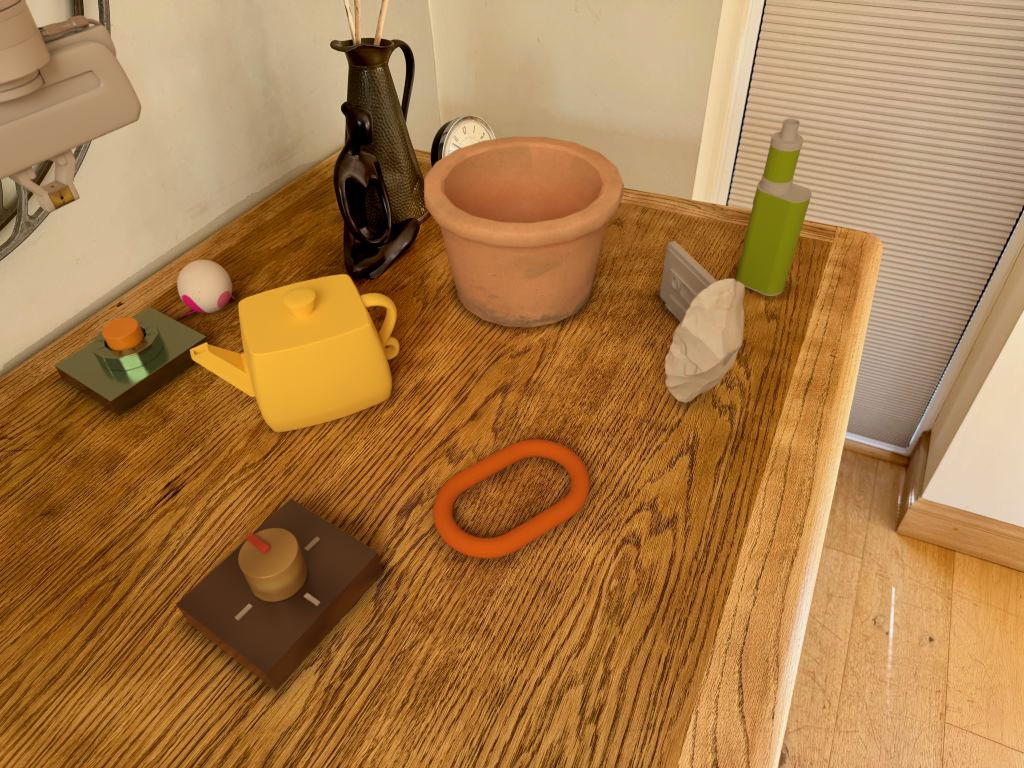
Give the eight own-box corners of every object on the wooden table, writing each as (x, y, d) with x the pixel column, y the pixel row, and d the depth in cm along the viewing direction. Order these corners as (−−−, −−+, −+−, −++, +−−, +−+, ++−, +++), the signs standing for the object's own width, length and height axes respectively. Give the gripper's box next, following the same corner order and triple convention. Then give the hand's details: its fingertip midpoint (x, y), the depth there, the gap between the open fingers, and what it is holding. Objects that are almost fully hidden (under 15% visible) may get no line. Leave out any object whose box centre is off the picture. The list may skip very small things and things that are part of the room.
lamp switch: (118, 416, 74) (103, 388, 72) (63, 380, 79) (45, 352, 76) (212, 351, 81) (201, 323, 79) (156, 321, 86) (144, 294, 83)
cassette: (655, 296, 87) (663, 241, 82) (668, 293, 88) (677, 238, 82) (710, 357, 79) (723, 301, 74) (725, 353, 79) (739, 296, 74)
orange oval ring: (411, 493, 64) (546, 420, 70) (414, 505, 65) (546, 432, 71) (471, 571, 58) (612, 485, 64) (472, 582, 60) (611, 496, 66)
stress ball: (195, 318, 91) (148, 294, 86) (234, 269, 91) (190, 241, 86) (216, 347, 86) (168, 323, 81) (258, 295, 86) (212, 267, 81)
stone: (679, 429, 72) (703, 308, 61) (652, 394, 75) (671, 274, 65) (747, 407, 73) (782, 286, 63) (717, 374, 77) (746, 255, 67)
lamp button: (121, 355, 76) (115, 342, 74) (101, 343, 77) (94, 330, 76) (151, 336, 78) (145, 324, 77) (130, 325, 79) (124, 312, 78)
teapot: (225, 457, 70) (185, 367, 62) (210, 377, 78) (173, 289, 70) (422, 396, 75) (409, 306, 67) (388, 328, 84) (373, 241, 76)
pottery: (448, 235, 98) (439, 133, 88) (612, 240, 96) (621, 137, 86) (420, 339, 82) (405, 229, 72) (615, 347, 81) (626, 235, 71)
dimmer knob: (319, 571, 57) (309, 544, 55) (275, 612, 55) (262, 586, 52) (282, 543, 59) (271, 515, 57) (238, 582, 57) (224, 555, 54)
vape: (745, 266, 91) (782, 110, 77) (789, 285, 88) (836, 126, 74) (729, 279, 89) (765, 122, 75) (774, 299, 86) (819, 138, 72)
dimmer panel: (276, 692, 53) (265, 672, 51) (188, 623, 58) (174, 602, 55) (383, 572, 60) (377, 550, 58) (298, 518, 65) (290, 496, 62)
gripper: (77, 3, 64) (138, 150, 74) (-182, 82, 52) (-69, 246, 62) (120, 14, 61) (177, 166, 71) (-143, 100, 49) (-31, 269, 59)
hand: (61, 204), depth 66 cm, fingers closed
